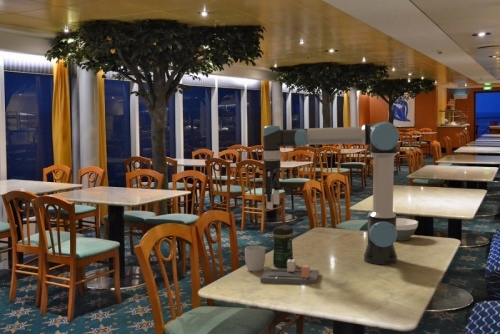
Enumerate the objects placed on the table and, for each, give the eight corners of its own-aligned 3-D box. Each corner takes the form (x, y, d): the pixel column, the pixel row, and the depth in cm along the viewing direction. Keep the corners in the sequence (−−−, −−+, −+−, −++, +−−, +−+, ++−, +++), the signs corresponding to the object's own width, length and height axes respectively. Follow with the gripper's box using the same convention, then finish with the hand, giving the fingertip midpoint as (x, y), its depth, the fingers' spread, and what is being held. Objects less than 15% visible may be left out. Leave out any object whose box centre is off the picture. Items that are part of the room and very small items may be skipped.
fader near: (309, 274, 228) (309, 264, 228) (309, 277, 224) (309, 267, 224) (302, 274, 229) (302, 264, 228) (301, 277, 225) (301, 267, 225)
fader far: (295, 269, 237) (295, 259, 237) (294, 271, 234) (294, 261, 233) (288, 268, 238) (288, 259, 238) (287, 271, 234) (286, 261, 234)
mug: (259, 273, 241) (259, 251, 240) (241, 271, 245) (241, 249, 244) (272, 266, 252) (271, 244, 251) (255, 264, 256) (254, 243, 255)
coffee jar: (285, 269, 247) (285, 228, 245) (270, 266, 251) (269, 226, 250) (296, 263, 255) (295, 224, 253) (281, 261, 259) (280, 222, 258)
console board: (318, 274, 237) (318, 269, 237) (316, 284, 223) (316, 279, 222) (266, 272, 242) (265, 267, 241) (260, 283, 227) (260, 277, 227)
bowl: (375, 235, 310) (375, 219, 309) (409, 234, 312) (409, 217, 311) (388, 243, 290) (388, 225, 290) (423, 241, 293) (424, 224, 292)
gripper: (270, 157, 261) (271, 202, 263) (257, 162, 237) (258, 211, 239) (285, 157, 259) (286, 202, 261) (274, 162, 235) (275, 211, 237)
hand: (273, 206), depth 250 cm, fingers open, 13 cm apart
